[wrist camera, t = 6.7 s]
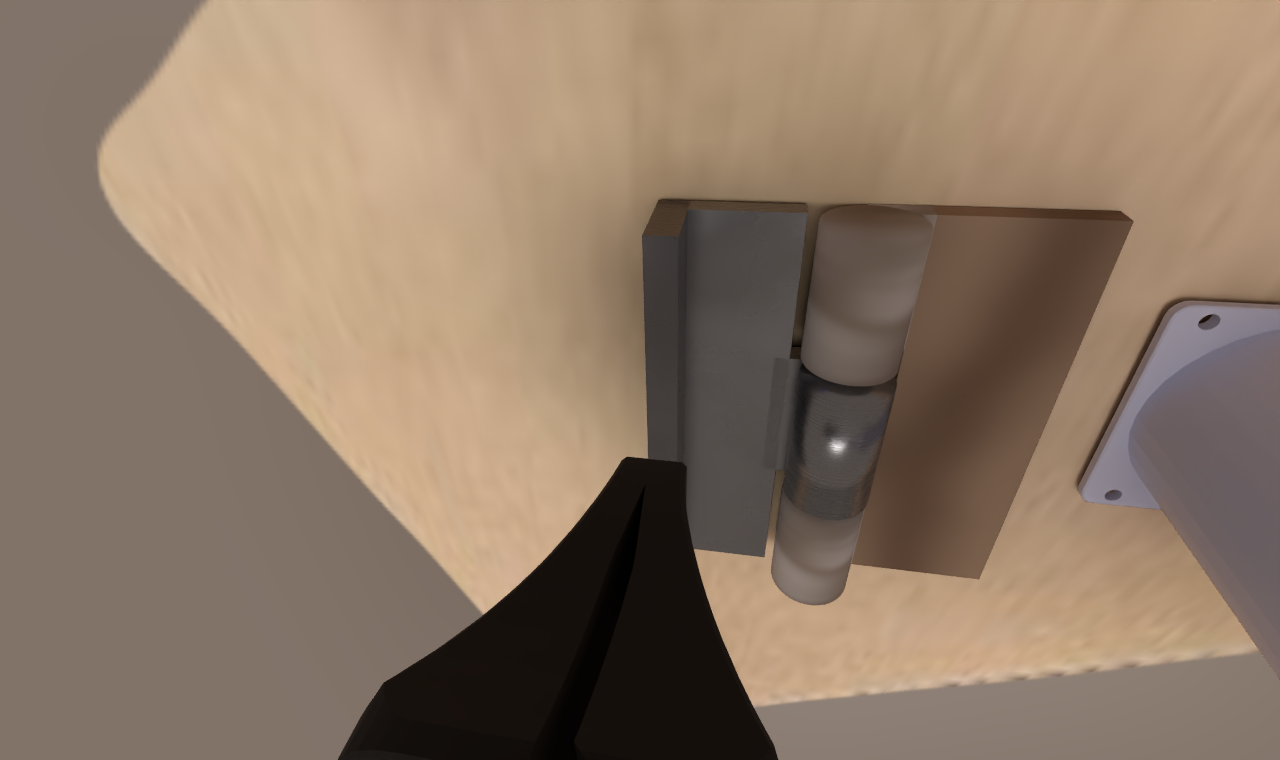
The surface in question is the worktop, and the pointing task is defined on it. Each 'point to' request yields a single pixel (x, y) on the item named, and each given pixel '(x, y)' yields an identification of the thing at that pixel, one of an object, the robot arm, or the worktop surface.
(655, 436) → the metal hinge
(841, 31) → the worktop surface
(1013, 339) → the fixed leaf
